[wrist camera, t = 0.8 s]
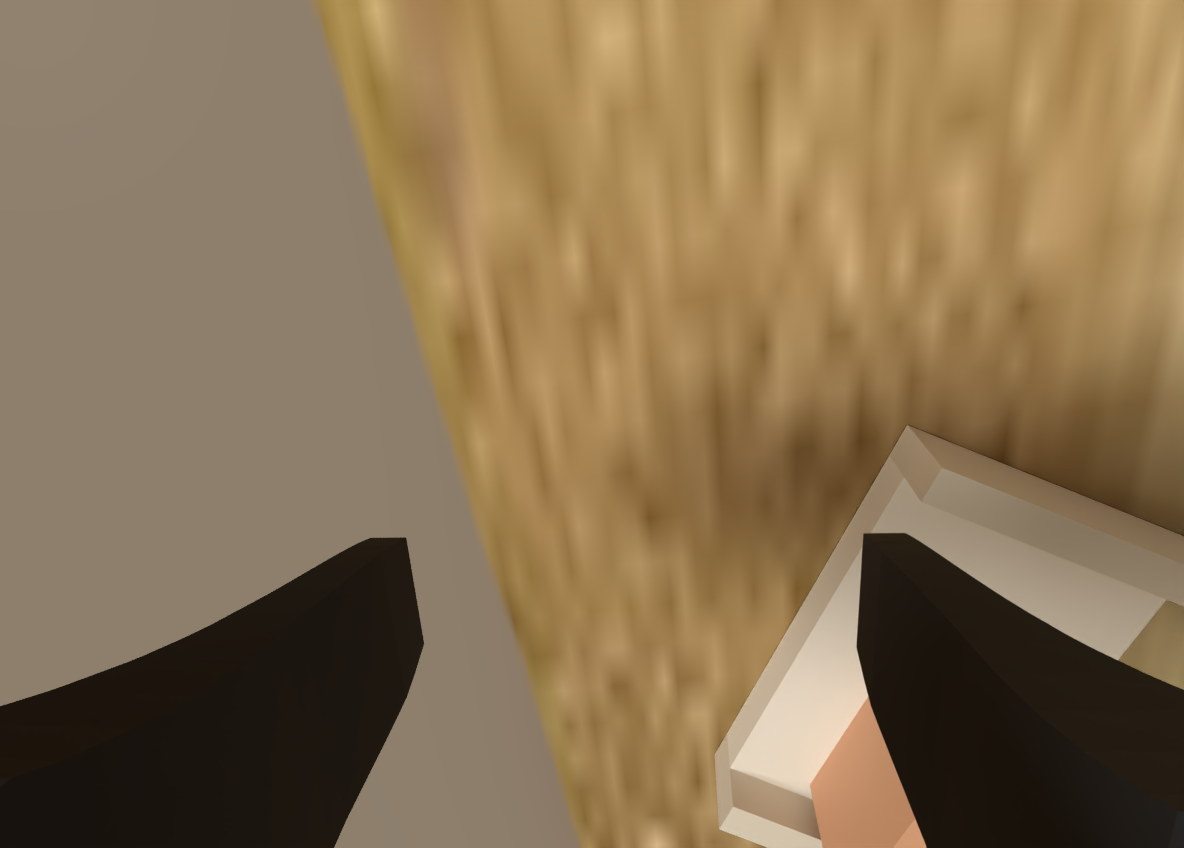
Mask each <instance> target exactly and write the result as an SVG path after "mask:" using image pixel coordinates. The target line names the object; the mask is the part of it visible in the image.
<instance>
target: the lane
mask: <svg viewBox="0 0 1184 848" xmlns="http://www.w3.org/2000/svg"><path fill="white" fill-rule="evenodd" d="M863 533H906V534H908V535H910V536H912V537H914V538H915V539H917V540H918V541H920V542H922V543H923V544H925V545H926V546H928V547H929V548H931V549H932V550H934V551H935V552H937V553H938V554H940V555H941V556H943V557H944V558H945V559H947V560H948V561H950V562H951V563H953V564H954V565H956V566H957V567H959V568H960V569H962V570H963V571H965V572H966V573H968V574H969V575H971V576H972V577H974V578H975V579H976V580H978V581H980V582H981V583H983V584H984V585H986V586H987V587H989V588H990V589H992V590H993V591H995V592H996V593H998V594H1000V595H1001V596H1003V597H1004V598H1006V599H1007V600H1009V601H1011V602H1012V603H1014V604H1015V605H1017V606H1019V607H1020V608H1022V609H1024V610H1025V611H1027V612H1029V613H1030V614H1032V615H1034V616H1035V617H1037V618H1039V619H1041V620H1042V621H1044V622H1046V623H1048V624H1049V625H1051V626H1053V627H1055V628H1056V629H1058V630H1060V631H1061V632H1063V633H1065V634H1067V635H1069V636H1070V637H1072V638H1074V639H1076V640H1078V641H1080V642H1082V643H1084V644H1086V645H1087V646H1089V647H1091V648H1093V649H1095V650H1097V651H1100V652H1102V653H1104V654H1106V655H1108V656H1110V657H1112V658H1114V659H1116V660H1119V658H1120V657H1121V656H1122V655H1123V653H1124V652H1125V651H1126V650H1127V648H1128V647H1129V646H1130V645H1131V643H1132V642H1133V641H1134V640H1135V638H1136V637H1137V636H1138V635H1139V633H1140V632H1141V631H1142V630H1143V628H1144V627H1145V626H1146V625H1147V623H1148V622H1149V621H1150V620H1151V618H1152V617H1153V616H1154V615H1155V613H1156V612H1157V611H1158V610H1159V608H1160V607H1161V606H1162V605H1163V604H1164V602H1165V601H1166V600H1168V601H1171V602H1173V603H1176V604H1178V605H1181V606H1183V607H1184V536H1182V535H1180V534H1177V533H1175V532H1172V531H1170V530H1167V529H1165V528H1162V527H1160V526H1157V525H1155V524H1152V523H1150V522H1147V521H1145V520H1142V519H1140V518H1137V517H1135V516H1132V515H1130V514H1127V513H1125V512H1122V511H1120V510H1117V509H1115V508H1112V507H1110V506H1107V505H1105V504H1102V503H1100V502H1097V501H1095V500H1093V499H1090V498H1088V497H1085V496H1083V495H1080V494H1078V493H1075V492H1073V491H1070V490H1068V489H1065V488H1063V487H1060V486H1058V485H1055V484H1053V483H1050V482H1048V481H1045V480H1043V479H1040V478H1038V477H1035V476H1033V475H1030V474H1028V473H1025V472H1023V471H1020V470H1018V469H1015V468H1013V467H1010V466H1008V465H1005V464H1003V463H1001V462H998V461H996V460H993V459H991V458H988V457H986V456H983V455H981V454H978V453H976V452H973V451H971V450H968V449H966V448H963V447H961V446H958V445H956V444H953V443H951V442H948V441H946V440H943V439H941V438H938V437H936V436H933V435H931V434H928V433H926V432H923V431H921V430H918V429H916V428H913V427H911V426H908V425H907V426H906V428H905V429H904V431H903V433H902V435H901V436H900V438H899V440H898V441H897V443H896V445H895V447H894V448H893V450H892V452H891V453H890V455H889V457H888V459H887V460H886V462H885V464H884V465H883V467H882V469H881V471H880V472H879V474H878V476H877V477H876V479H875V481H874V483H873V484H872V486H871V488H870V489H869V491H868V493H867V495H866V496H865V498H864V500H863V501H862V503H861V505H860V507H859V508H858V510H857V512H856V513H855V515H854V517H853V519H852V520H851V522H850V524H849V525H848V527H847V529H846V531H845V532H844V534H843V536H842V537H841V539H840V541H839V543H838V544H837V546H836V548H835V549H834V551H833V553H832V555H831V556H830V558H829V560H828V561H827V563H826V565H825V567H824V568H823V570H822V572H821V573H820V575H819V577H818V579H817V580H816V582H815V584H814V585H813V587H812V589H811V591H810V592H809V594H808V596H807V597H806V599H805V601H804V603H803V604H802V606H801V608H800V609H799V611H798V613H797V615H796V616H795V618H794V620H793V621H792V623H791V625H790V627H789V628H788V630H787V632H786V633H785V635H784V637H783V639H782V640H781V642H780V644H779V645H778V647H777V649H776V651H775V652H774V654H773V656H772V657H771V659H770V661H769V663H768V664H767V666H766V668H765V669H764V671H763V673H762V675H761V676H760V678H759V680H758V681H757V683H756V685H755V687H754V688H753V690H752V692H751V693H750V695H749V697H748V699H747V700H746V702H745V704H744V705H743V707H742V709H741V711H740V712H739V714H738V716H737V717H736V719H735V721H734V723H733V724H732V726H731V728H730V729H729V731H728V733H727V735H726V736H725V738H724V740H723V741H722V743H721V745H720V747H719V748H718V750H717V752H716V753H715V768H716V784H717V801H718V817H719V829H720V830H723V831H725V832H728V833H731V834H733V835H736V836H739V837H741V838H744V839H746V840H749V841H752V842H754V843H757V844H760V845H762V846H765V847H767V848H823V847H822V842H821V837H820V832H819V828H818V823H817V818H816V813H815V808H814V804H813V799H812V794H811V789H810V784H811V782H812V781H813V779H814V778H815V776H816V775H817V773H818V772H819V770H820V769H821V767H822V766H823V764H824V763H825V761H826V759H827V758H828V756H829V755H830V753H831V752H832V750H833V749H834V747H835V746H836V744H837V743H838V741H839V740H840V738H841V737H842V735H843V734H844V732H845V731H846V729H847V728H848V726H849V725H850V723H851V722H852V720H853V719H854V717H855V716H856V714H857V713H858V711H859V710H860V708H861V706H862V705H863V703H864V702H865V700H866V699H867V697H868V693H867V689H866V685H865V682H864V678H863V673H862V669H861V665H860V661H859V656H858V652H857V648H856V645H857V629H858V612H859V596H860V579H861V563H862V546H863Z"/></svg>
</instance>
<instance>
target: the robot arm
mask: <svg viewBox="0 0 1184 848" xmlns="http://www.w3.org/2000/svg"><path fill="white" fill-rule="evenodd" d="M423 645H424V641H423V635H422V629H421V623H420V618H419V611H418V606H417V599H416V593H415V588H414V582H413V576H412V570H411V564H410V558H409V552H408V546H407V540H406V538H369V539H367V540H365V541H362V542H360V543H358V544H356V545H354V546H352V547H350V548H348V549H346V550H344V551H343V552H341V553H339V554H337V555H336V556H334V557H332V558H330V559H328V560H327V561H325V562H323V563H321V564H320V565H318V566H316V567H315V568H313V569H311V570H309V571H308V572H306V573H304V574H302V575H301V576H299V577H297V578H295V579H294V580H292V581H291V582H289V583H287V584H285V585H283V586H282V587H280V588H278V589H276V590H275V591H273V592H271V593H270V594H268V595H266V596H264V597H262V598H260V599H258V600H257V601H255V602H253V603H251V604H249V605H247V606H246V607H244V608H242V609H240V610H238V611H236V612H234V613H232V614H230V615H229V616H227V617H225V618H223V619H221V620H219V621H218V622H215V623H214V624H212V625H210V626H208V627H206V628H204V629H201V630H200V631H197V632H195V633H194V634H191V635H189V636H187V637H185V638H183V639H181V640H178V641H176V642H174V643H171V644H169V645H167V646H165V647H162V648H160V649H158V650H156V651H153V652H151V653H149V654H147V655H144V656H142V657H139V658H137V659H135V660H132V661H130V662H127V663H124V664H122V665H119V666H116V667H114V668H111V669H108V670H106V671H103V672H100V673H97V674H95V675H92V676H89V677H87V678H84V679H81V680H78V681H76V682H73V683H70V684H68V685H65V686H62V687H59V688H57V689H54V690H51V691H48V692H44V693H42V694H38V695H35V696H32V697H29V698H25V699H22V700H19V701H16V702H13V703H10V704H7V705H3V706H0V848H334V846H335V844H336V842H337V840H338V837H339V835H340V833H341V831H342V828H343V826H344V824H345V821H346V819H347V818H348V815H349V813H350V811H351V809H352V807H353V805H354V803H355V801H356V799H357V797H358V795H359V793H360V791H361V789H362V787H363V785H364V783H365V781H366V779H367V777H368V775H369V773H370V771H371V769H372V767H373V765H374V763H375V761H376V759H377V757H378V755H379V753H380V751H381V749H382V747H383V745H384V743H385V741H386V739H387V737H388V735H389V733H390V731H391V729H392V727H393V725H394V723H395V721H396V719H397V716H398V715H399V712H400V710H401V708H402V706H403V704H404V702H405V699H406V698H407V694H408V692H409V689H410V686H411V683H412V680H413V677H414V674H415V671H416V668H417V665H418V661H419V658H420V655H421V652H422V649H423ZM856 648H857V652H858V656H859V661H860V665H861V669H862V673H863V678H864V682H865V685H866V689H867V693H868V697H869V701H870V705H871V708H872V710H873V713H874V716H875V718H876V721H877V723H878V726H879V729H880V731H881V734H882V736H883V739H884V741H885V744H886V747H887V749H888V752H889V754H890V757H891V759H892V762H893V764H894V767H895V769H896V772H897V774H898V777H899V779H900V782H901V784H902V787H903V789H904V792H905V794H906V797H907V799H908V802H909V804H910V807H911V809H912V812H913V814H914V817H915V819H916V822H917V824H918V827H919V829H920V832H921V834H922V837H923V839H924V842H925V845H926V848H1184V690H1182V689H1180V688H1177V687H1175V686H1172V685H1170V684H1168V683H1166V682H1163V681H1161V680H1159V679H1156V678H1154V677H1152V676H1150V675H1147V674H1145V673H1143V672H1141V671H1139V670H1137V669H1134V668H1132V667H1130V666H1128V665H1126V664H1124V663H1122V662H1120V661H1118V660H1116V659H1114V658H1112V657H1110V656H1108V655H1106V654H1104V653H1102V652H1100V651H1097V650H1095V649H1093V648H1091V647H1089V646H1087V645H1086V644H1084V643H1082V642H1080V641H1078V640H1076V639H1074V638H1072V637H1070V636H1069V635H1067V634H1065V633H1063V632H1061V631H1060V630H1058V629H1056V628H1055V627H1053V626H1051V625H1049V624H1048V623H1046V622H1044V621H1042V620H1041V619H1039V618H1037V617H1035V616H1034V615H1032V614H1030V613H1029V612H1027V611H1025V610H1024V609H1022V608H1020V607H1019V606H1017V605H1015V604H1014V603H1012V602H1011V601H1009V600H1007V599H1006V598H1004V597H1003V596H1001V595H1000V594H998V593H996V592H995V591H993V590H992V589H990V588H989V587H987V586H986V585H984V584H983V583H981V582H980V581H978V580H976V579H975V578H974V577H972V576H971V575H969V574H968V573H966V572H965V571H963V570H962V569H960V568H959V567H957V566H956V565H954V564H953V563H951V562H950V561H948V560H947V559H945V558H944V557H943V556H941V555H940V554H938V553H937V552H935V551H934V550H932V549H931V548H929V547H928V546H926V545H925V544H923V543H922V542H920V541H918V540H917V539H915V538H914V537H912V536H910V535H908V534H906V533H863V546H862V563H861V579H860V596H859V612H858V629H857V645H856Z"/></svg>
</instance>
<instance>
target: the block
mask: <svg viewBox="0 0 1184 848" xmlns="http://www.w3.org/2000/svg"><path fill="white" fill-rule="evenodd" d="M810 789H811V794H812V799H813V804H814V808H815V813H816V818H817V823H818V828H819V832H820V837H821V842H822V847H823V848H926V845H925V842H924V839H923V837H922V834H921V832H920V829H919V827H918V824H917V822H916V819H915V817H914V814H913V812H912V809H911V807H910V804H909V802H908V799H907V797H906V794H905V792H904V789H903V787H902V784H901V782H900V779H899V777H898V774H897V772H896V769H895V767H894V764H893V762H892V759H891V757H890V754H889V752H888V749H887V747H886V744H885V741H884V739H883V736H882V734H881V731H880V729H879V726H878V723H877V721H876V718H875V716H874V713H873V710H872V708H871V705H870V701H869V697H867V699H866V700H865V702H864V703H863V705H862V706H861V708H860V710H859V711H858V713H857V714H856V716H855V717H854V719H853V720H852V722H851V723H850V725H849V726H848V728H847V729H846V731H845V732H844V734H843V735H842V737H841V738H840V740H839V741H838V743H837V744H836V746H835V747H834V749H833V750H832V752H831V753H830V755H829V756H828V758H827V759H826V761H825V763H824V764H823V766H822V767H821V769H820V770H819V772H818V773H817V775H816V776H815V778H814V779H813V781H812V782H811V784H810Z"/></svg>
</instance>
